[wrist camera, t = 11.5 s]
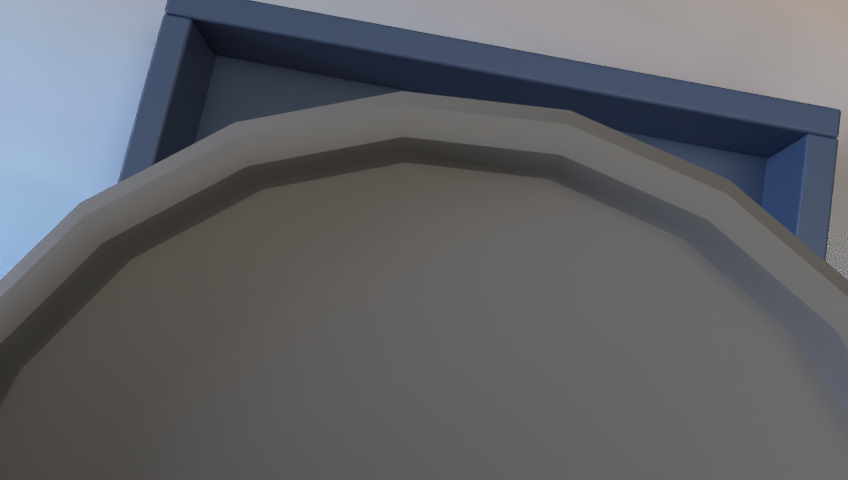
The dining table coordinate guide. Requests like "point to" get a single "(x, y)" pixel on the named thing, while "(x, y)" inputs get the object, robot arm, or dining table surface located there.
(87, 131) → the dining table surface
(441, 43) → the tray
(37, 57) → the dining table surface
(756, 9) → the dining table surface
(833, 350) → the beer can
